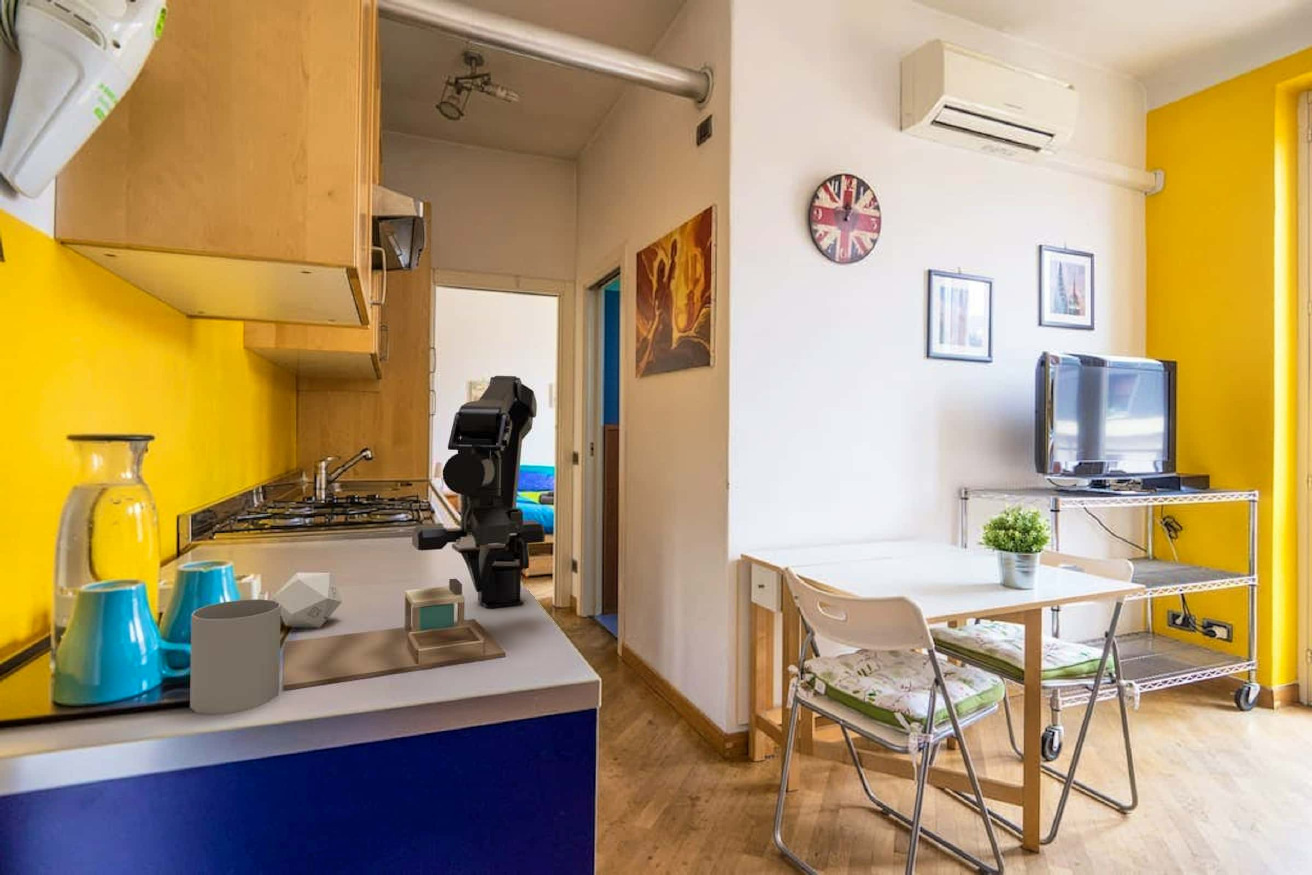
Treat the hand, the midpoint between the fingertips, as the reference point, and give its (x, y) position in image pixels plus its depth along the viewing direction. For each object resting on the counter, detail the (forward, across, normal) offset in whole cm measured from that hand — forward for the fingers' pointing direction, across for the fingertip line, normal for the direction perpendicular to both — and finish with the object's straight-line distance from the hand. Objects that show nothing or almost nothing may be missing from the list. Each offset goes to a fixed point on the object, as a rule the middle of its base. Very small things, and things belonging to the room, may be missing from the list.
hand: (479, 591), depth 98 cm
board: (+6, -12, -4) cm, 14 cm away
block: (+5, -6, 0) cm, 8 cm away
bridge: (+5, -6, 0) cm, 8 cm away
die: (+6, -22, +15) cm, 28 cm away
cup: (+6, -30, -12) cm, 33 cm away
